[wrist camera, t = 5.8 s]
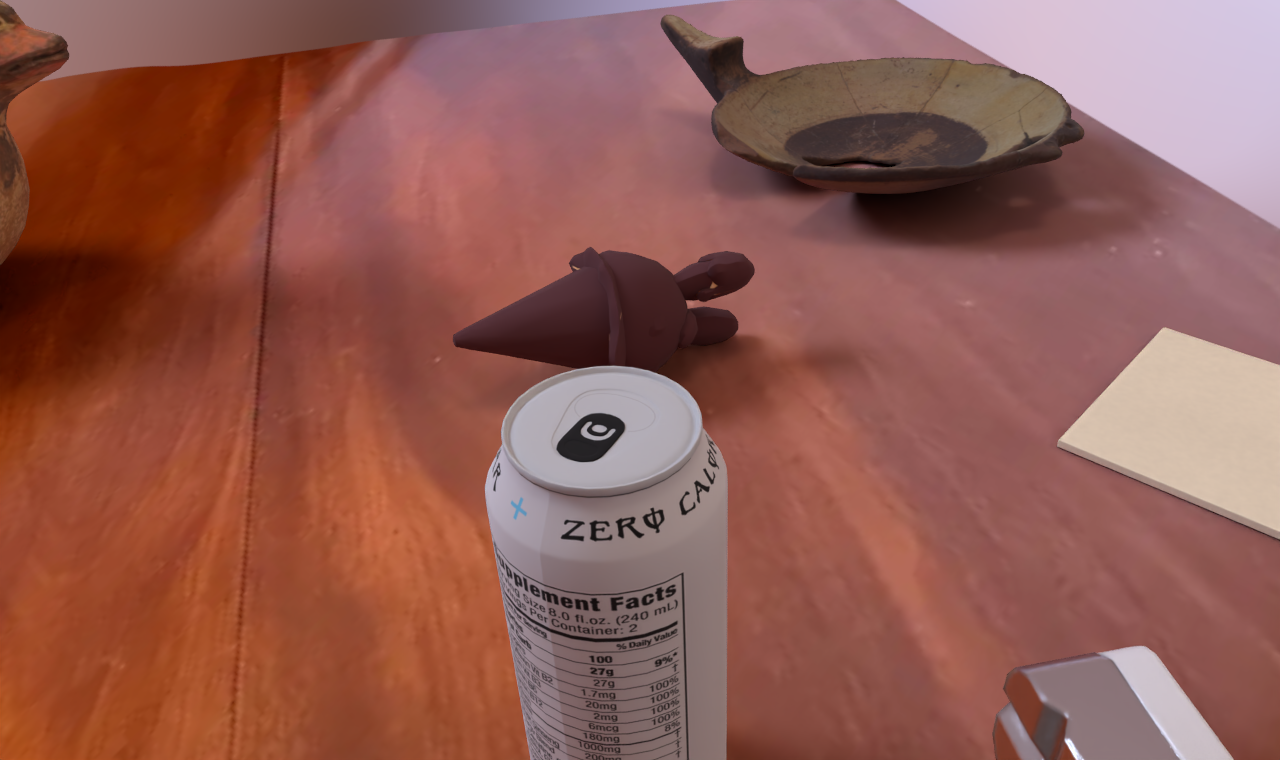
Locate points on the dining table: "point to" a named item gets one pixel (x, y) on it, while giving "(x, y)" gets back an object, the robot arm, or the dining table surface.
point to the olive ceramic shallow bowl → (877, 117)
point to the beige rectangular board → (1192, 427)
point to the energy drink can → (613, 567)
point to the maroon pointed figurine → (615, 312)
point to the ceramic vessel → (4, 67)
